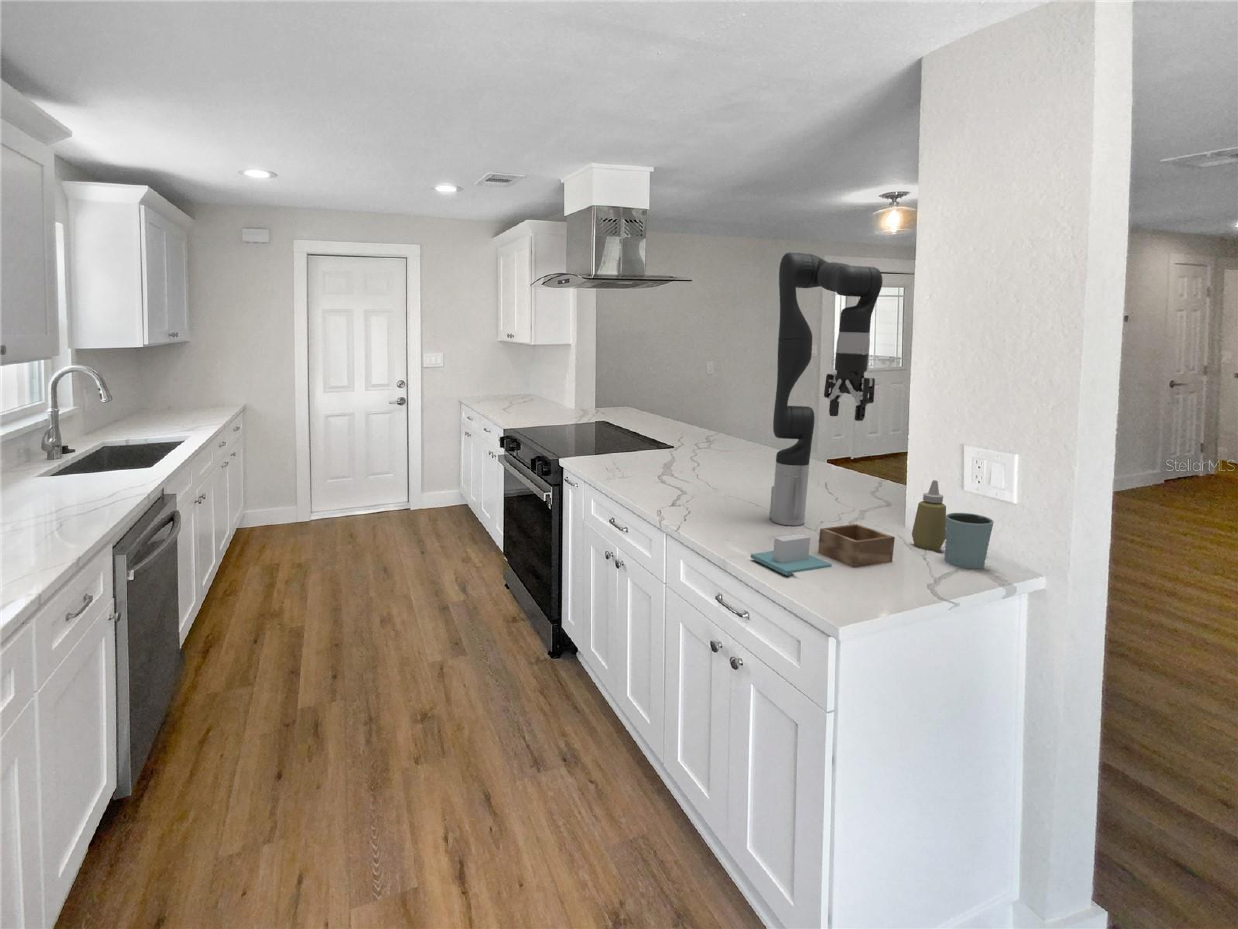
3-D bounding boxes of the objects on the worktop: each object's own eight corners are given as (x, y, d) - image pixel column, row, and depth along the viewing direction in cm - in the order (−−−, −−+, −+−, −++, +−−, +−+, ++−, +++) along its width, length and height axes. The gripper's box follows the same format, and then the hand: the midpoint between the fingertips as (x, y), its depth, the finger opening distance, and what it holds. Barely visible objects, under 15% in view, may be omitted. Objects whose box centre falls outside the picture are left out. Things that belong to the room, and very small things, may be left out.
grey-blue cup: (992, 567, 171) (999, 518, 169) (979, 577, 164) (986, 526, 162) (948, 557, 178) (954, 510, 176) (933, 566, 170) (939, 517, 168)
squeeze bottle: (941, 546, 186) (949, 479, 183) (946, 555, 179) (955, 485, 175) (908, 543, 188) (915, 476, 185) (912, 552, 181) (919, 482, 177)
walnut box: (817, 556, 175) (820, 528, 174) (854, 550, 180) (857, 523, 179) (853, 571, 164) (856, 542, 163) (891, 565, 170) (894, 537, 168)
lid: (750, 561, 170) (752, 532, 169) (793, 555, 176) (795, 527, 175) (786, 579, 159) (788, 548, 158) (830, 571, 165) (833, 542, 163)
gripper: (819, 350, 178) (814, 415, 181) (862, 352, 165) (856, 422, 168) (842, 350, 181) (836, 414, 184) (886, 353, 169) (879, 421, 172)
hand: (846, 418), depth 176 cm, fingers open, 8 cm apart
